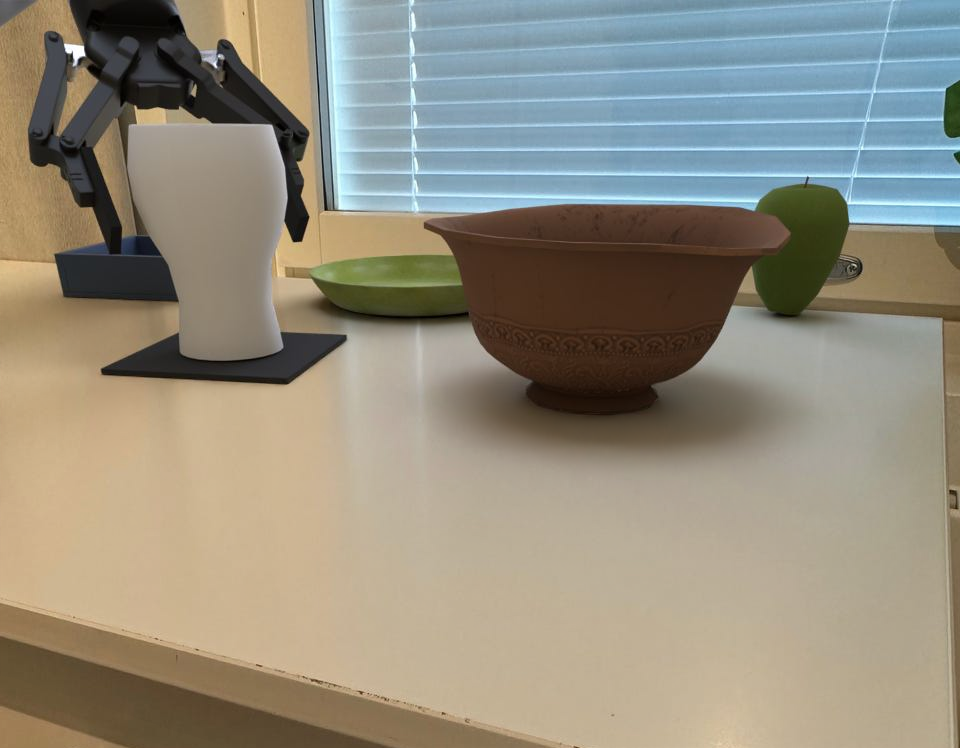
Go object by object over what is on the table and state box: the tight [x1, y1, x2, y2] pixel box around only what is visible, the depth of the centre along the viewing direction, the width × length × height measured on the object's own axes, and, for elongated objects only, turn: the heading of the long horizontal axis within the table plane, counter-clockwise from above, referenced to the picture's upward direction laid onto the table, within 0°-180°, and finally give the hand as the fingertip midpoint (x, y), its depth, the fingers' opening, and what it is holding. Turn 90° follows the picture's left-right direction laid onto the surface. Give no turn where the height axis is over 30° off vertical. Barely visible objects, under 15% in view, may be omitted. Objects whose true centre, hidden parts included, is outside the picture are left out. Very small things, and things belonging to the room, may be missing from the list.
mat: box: [100, 331, 348, 385], centre depth 68 cm, size 14×14×1 cm
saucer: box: [308, 253, 469, 317], centre depth 86 cm, size 21×21×3 cm
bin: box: [53, 234, 179, 302], centre depth 94 cm, size 16×16×4 cm
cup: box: [126, 123, 288, 361], centre depth 64 cm, size 11×11×15 cm
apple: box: [751, 175, 851, 316], centre depth 80 cm, size 9×8×12 cm
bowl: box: [423, 203, 791, 415], centre depth 56 cm, size 22×22×11 cm
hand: (213, 235), depth 64 cm, fingers open, 13 cm apart
